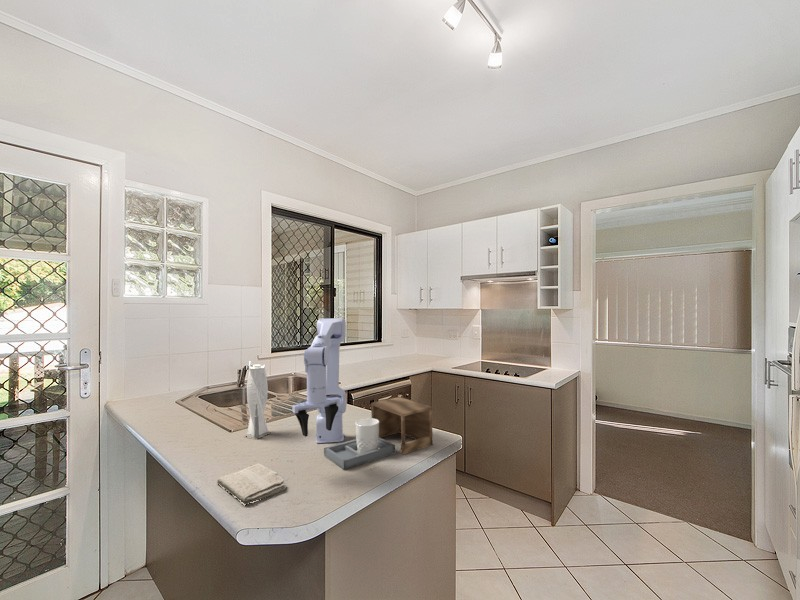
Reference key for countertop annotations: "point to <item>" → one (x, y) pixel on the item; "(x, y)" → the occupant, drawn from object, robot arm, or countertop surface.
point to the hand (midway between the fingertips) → (317, 432)
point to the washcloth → (252, 483)
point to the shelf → (404, 421)
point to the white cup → (367, 434)
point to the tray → (356, 453)
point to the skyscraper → (257, 401)
